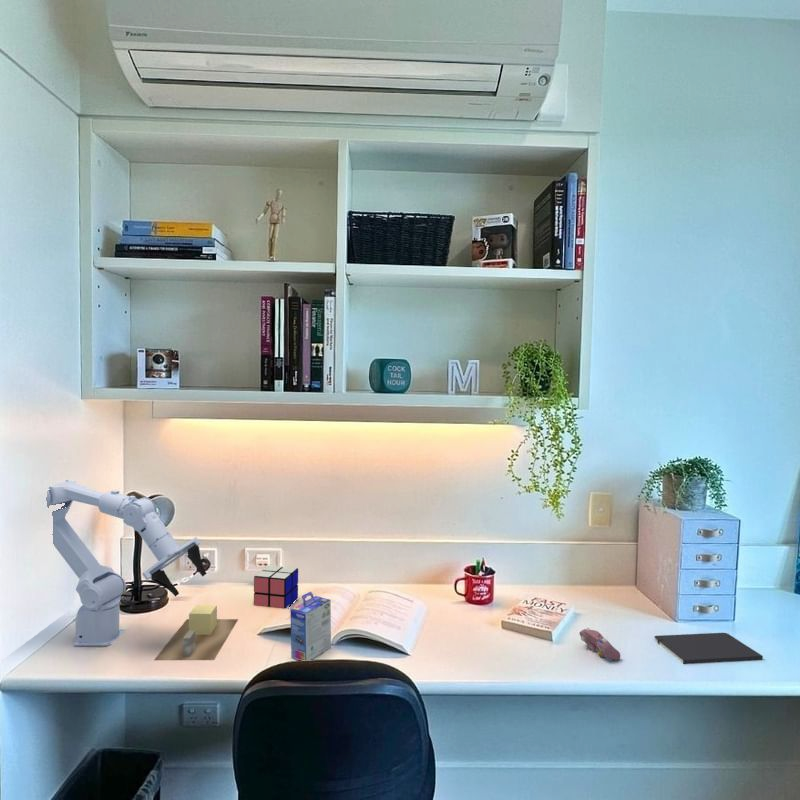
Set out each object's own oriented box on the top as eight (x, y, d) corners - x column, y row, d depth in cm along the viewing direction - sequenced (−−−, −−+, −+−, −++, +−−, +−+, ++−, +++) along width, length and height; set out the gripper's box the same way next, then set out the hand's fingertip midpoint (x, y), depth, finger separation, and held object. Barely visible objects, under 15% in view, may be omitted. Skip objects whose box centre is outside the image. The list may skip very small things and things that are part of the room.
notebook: (683, 666, 133) (762, 662, 136) (683, 659, 133) (762, 655, 136) (652, 641, 145) (726, 638, 148) (652, 635, 145) (726, 632, 148)
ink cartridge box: (315, 641, 141) (315, 586, 141) (332, 646, 139) (332, 590, 138) (288, 657, 133) (289, 599, 132) (306, 664, 130) (307, 604, 130)
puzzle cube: (285, 613, 158) (285, 579, 158) (253, 609, 160) (253, 576, 160) (298, 599, 168) (298, 567, 168) (268, 596, 170) (268, 564, 170)
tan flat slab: (153, 664, 128) (153, 641, 128) (186, 622, 150) (186, 603, 150) (214, 664, 129) (214, 641, 129) (238, 622, 151) (238, 603, 151)
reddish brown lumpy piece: (582, 650, 142) (573, 628, 141) (595, 640, 143) (586, 618, 142) (610, 669, 133) (600, 646, 131) (623, 658, 134) (614, 635, 133)
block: (188, 634, 141) (189, 613, 141) (196, 625, 147) (196, 605, 146) (210, 634, 141) (210, 613, 141) (216, 625, 147) (216, 605, 147)
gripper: (133, 554, 129) (166, 601, 128) (188, 519, 139) (219, 563, 137) (131, 561, 135) (162, 606, 134) (183, 527, 144) (213, 569, 143)
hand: (191, 584), depth 136 cm, fingers open, 7 cm apart
